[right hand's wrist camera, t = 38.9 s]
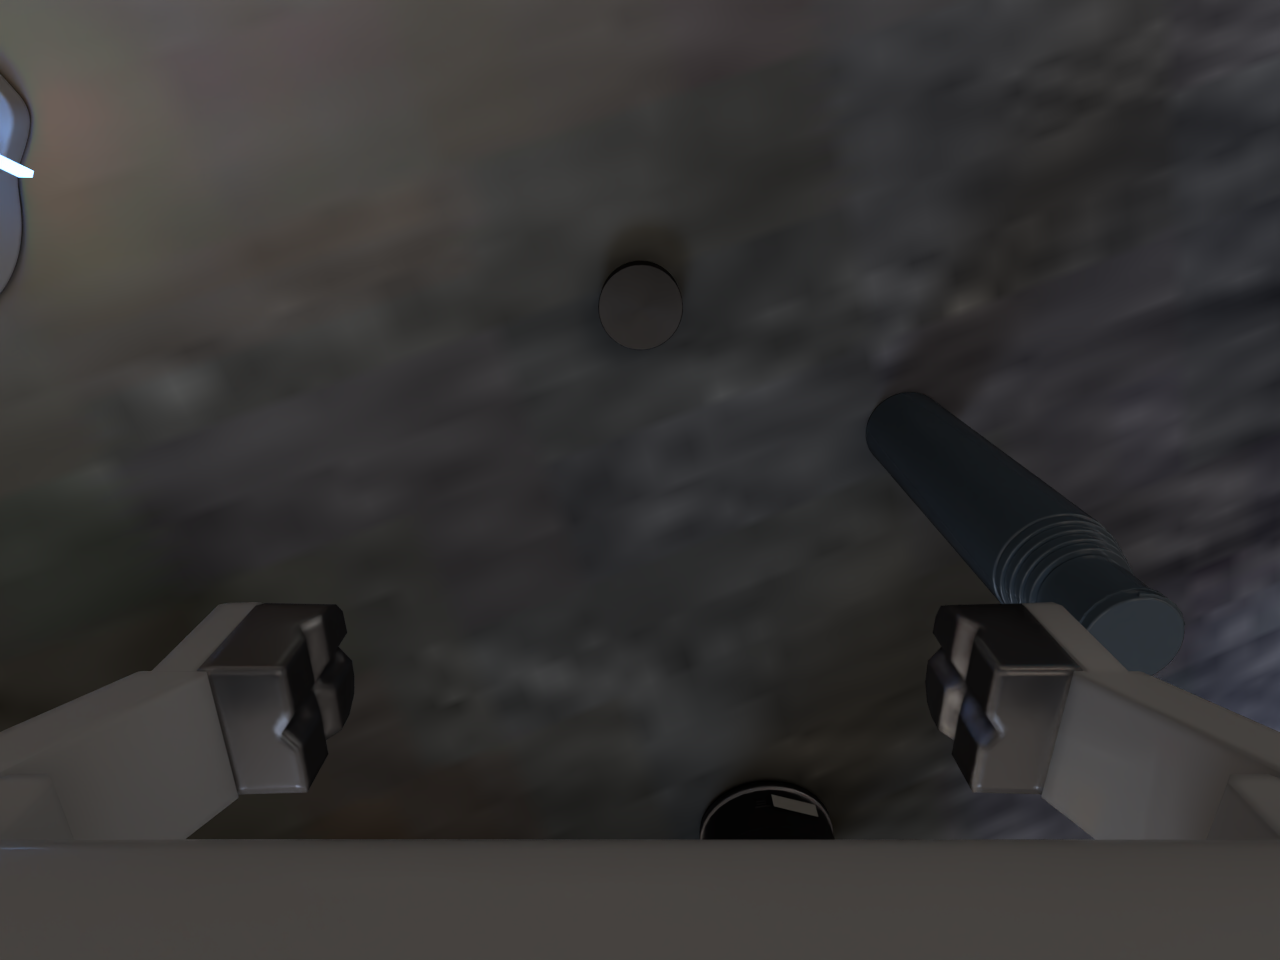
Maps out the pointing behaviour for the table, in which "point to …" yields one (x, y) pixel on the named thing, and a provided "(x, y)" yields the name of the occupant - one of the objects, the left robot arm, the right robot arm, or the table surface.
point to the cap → (640, 305)
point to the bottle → (1021, 531)
